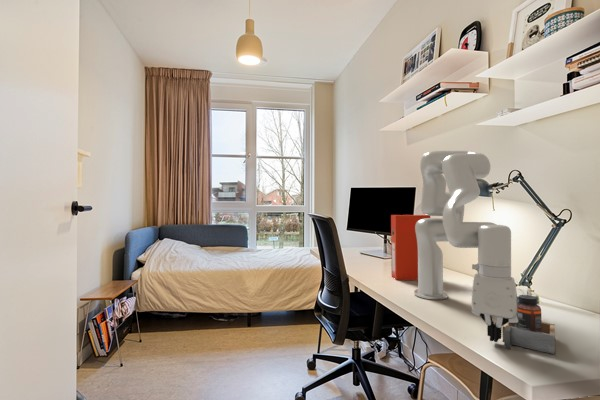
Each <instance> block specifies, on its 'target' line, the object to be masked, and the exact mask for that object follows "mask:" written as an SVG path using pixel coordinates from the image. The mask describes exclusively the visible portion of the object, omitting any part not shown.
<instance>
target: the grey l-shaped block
mask: <svg viewBox="0 0 600 400" xmlns="http://www.w3.org/2000/svg"><path fill="white" fill-rule="evenodd" d="M503 343H504V349H506V350H507V349H508V350H511V347H512V345H513V346H517V347H521V348H526V349H531V350H535V351H539V352H543V353H546V354H547V353H548V354H552V355H555V354H554V335H552V334H547V333H542V332H537V331H532V330H527V329H522V328H517V327H512V326H507V325H506V327H505V330H504V342H503Z"/></svg>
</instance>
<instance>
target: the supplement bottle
mask: <svg viewBox="0 0 600 400" xmlns="http://www.w3.org/2000/svg"><path fill="white" fill-rule="evenodd" d="M517 302H518V311H517V315H518V318H519V321H518V322H517V323H515V327H517V328H522V329H527V330H532V331H537V332H542V322H543V321H542V319H543V318H542V309H541V306H540V305H539V304H537V303H538V301H537V297H536V296H534V295H529V294H519V295H518V301H517Z"/></svg>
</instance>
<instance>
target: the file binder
mask: <svg viewBox="0 0 600 400" xmlns="http://www.w3.org/2000/svg"><path fill="white" fill-rule="evenodd" d="M424 218H431V216H428V215H425V214H402V215H401V214H391V215H390V232H391V234H390V236H391V238H390V239H391V240H390V241H391V244H390V245H391V248H390V249H391V250H390V253H391V256H390V257H391V260H390V261H391V263H390V264H391V277H392V278H393V279H394V278H395V279H396V280H395V279H394V280H395V281H407V280H408V281H418V246H417V237H416V232H415V225H416V223H417V221H419V220H421V219H424Z"/></svg>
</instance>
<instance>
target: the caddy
mask: <svg viewBox="0 0 600 400" xmlns="http://www.w3.org/2000/svg"><path fill="white" fill-rule="evenodd" d="M506 325H507V326H512V327H515V323H509V322H508V323H506V324H505V325H503V326H502V342H503V343H504V330H505V327H506ZM555 327H556V325H555V324H554V323H550V322H549V323H548V322H543V321H542V333H547V334H552V335H554V354H553V355H555V354H556V334H555V333H556V330H555Z"/></svg>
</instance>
